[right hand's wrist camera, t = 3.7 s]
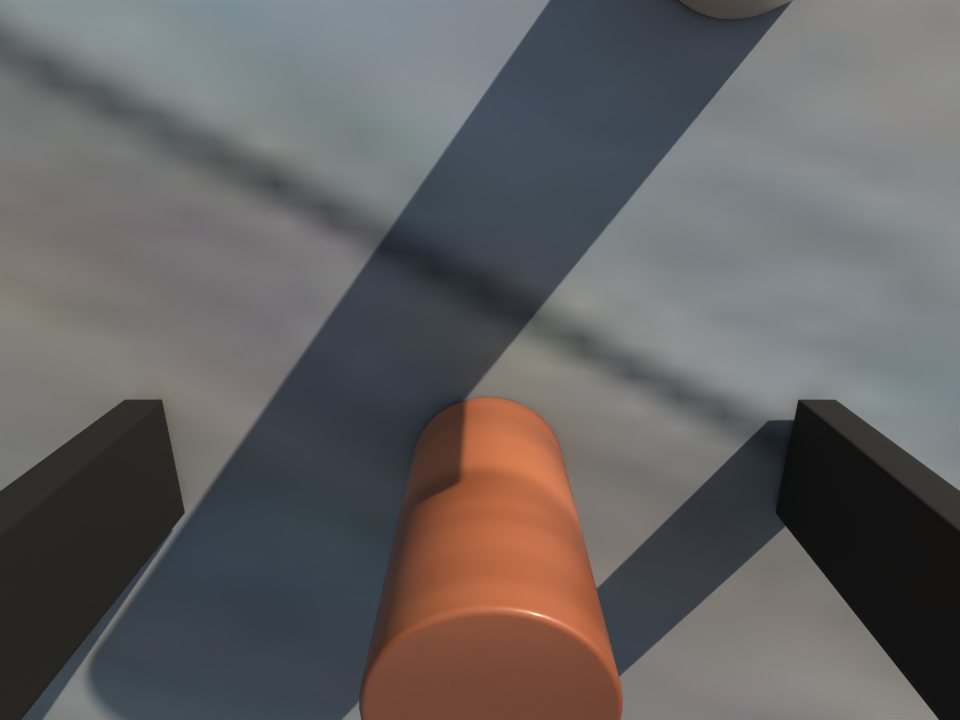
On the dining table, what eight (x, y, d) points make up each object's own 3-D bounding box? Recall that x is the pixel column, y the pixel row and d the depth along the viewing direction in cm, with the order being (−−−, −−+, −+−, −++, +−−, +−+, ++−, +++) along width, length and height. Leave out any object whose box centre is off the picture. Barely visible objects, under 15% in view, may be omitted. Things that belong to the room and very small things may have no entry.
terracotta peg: (558, 527, 13) (613, 807, 8) (415, 526, 13) (366, 806, 8) (565, 396, 12) (635, 610, 7) (410, 395, 12) (347, 609, 7)
